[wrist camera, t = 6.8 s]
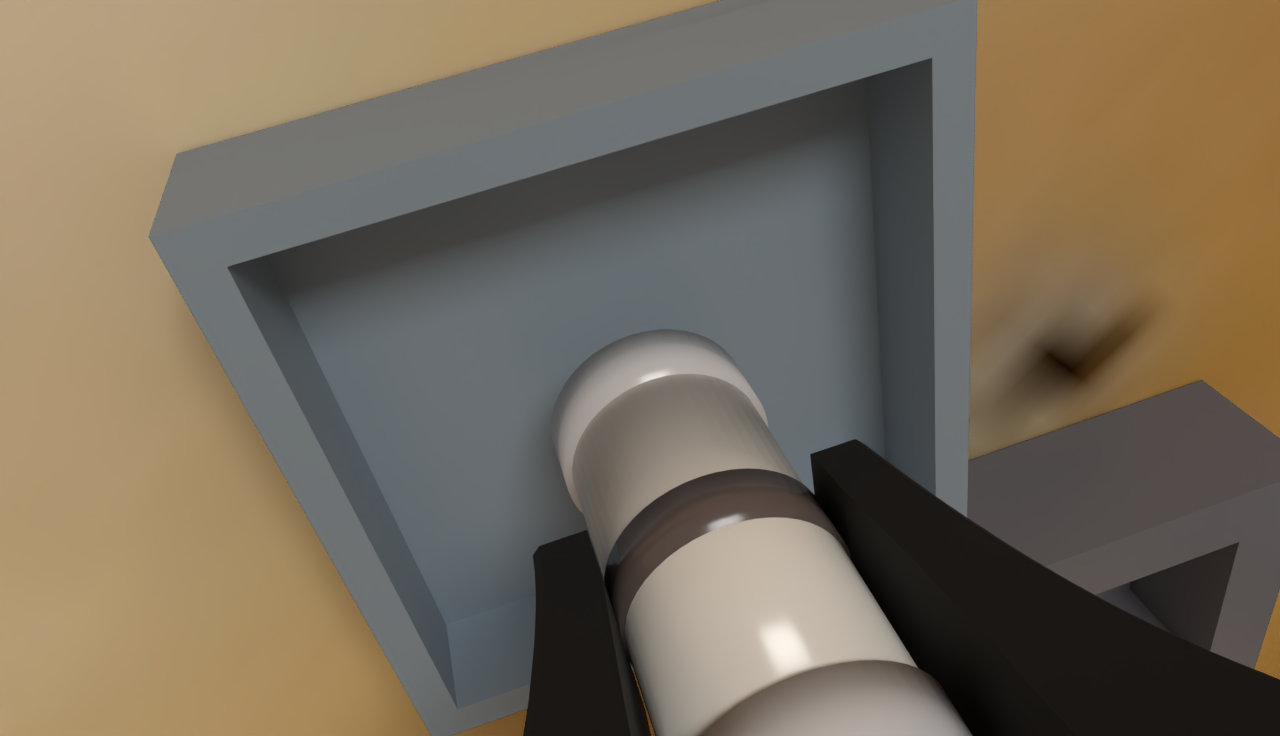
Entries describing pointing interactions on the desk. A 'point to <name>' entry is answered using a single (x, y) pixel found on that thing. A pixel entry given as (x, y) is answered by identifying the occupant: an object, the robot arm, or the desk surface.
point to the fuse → (726, 557)
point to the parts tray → (584, 287)
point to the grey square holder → (1151, 513)
